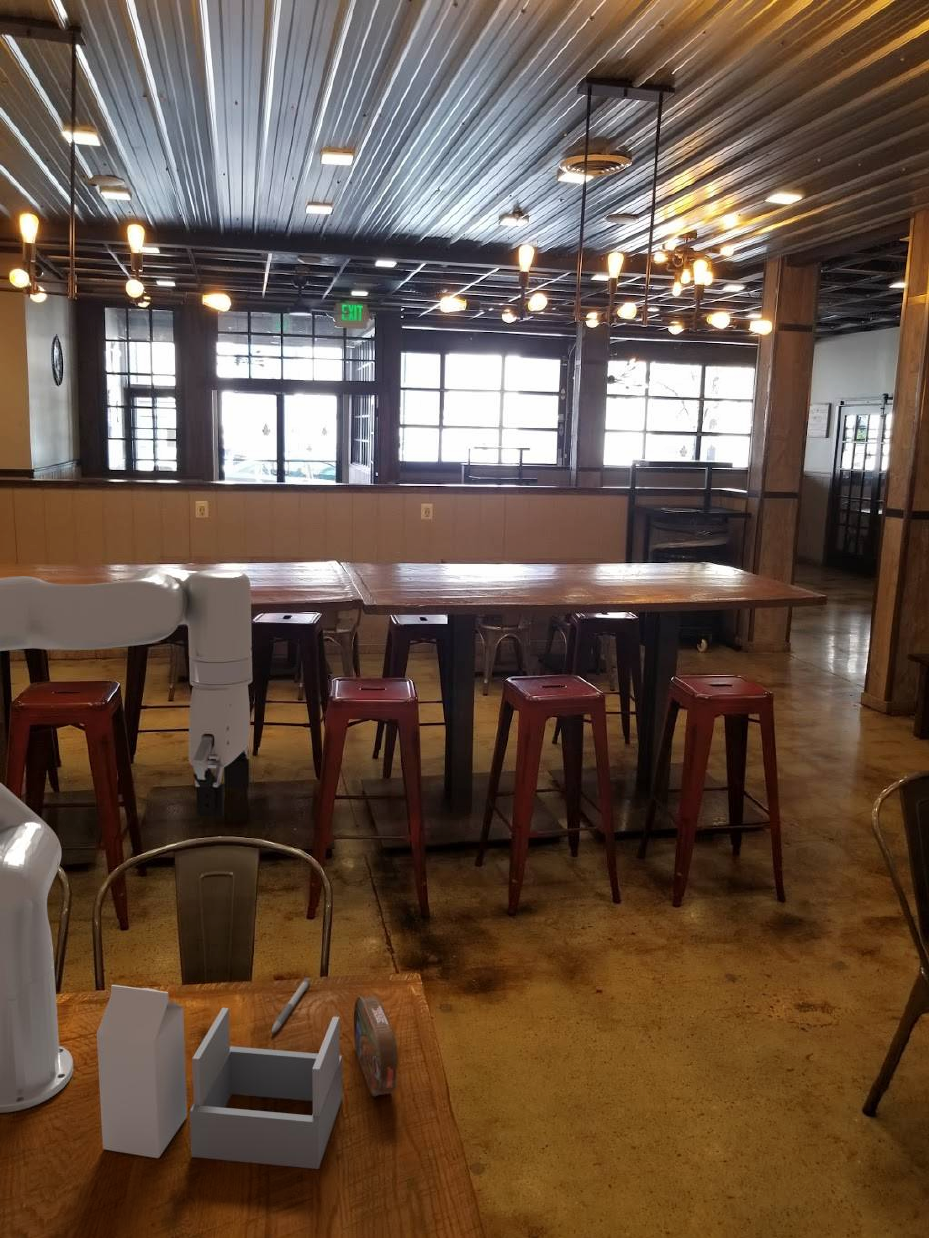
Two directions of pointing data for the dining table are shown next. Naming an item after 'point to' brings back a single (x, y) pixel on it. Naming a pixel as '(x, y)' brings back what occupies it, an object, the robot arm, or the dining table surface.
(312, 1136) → the flap box
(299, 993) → the pen
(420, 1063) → the dining table surface
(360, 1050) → the tin
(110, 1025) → the milk carton
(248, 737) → the robot arm
